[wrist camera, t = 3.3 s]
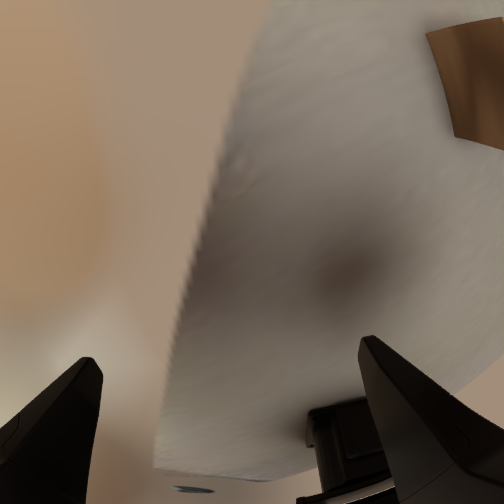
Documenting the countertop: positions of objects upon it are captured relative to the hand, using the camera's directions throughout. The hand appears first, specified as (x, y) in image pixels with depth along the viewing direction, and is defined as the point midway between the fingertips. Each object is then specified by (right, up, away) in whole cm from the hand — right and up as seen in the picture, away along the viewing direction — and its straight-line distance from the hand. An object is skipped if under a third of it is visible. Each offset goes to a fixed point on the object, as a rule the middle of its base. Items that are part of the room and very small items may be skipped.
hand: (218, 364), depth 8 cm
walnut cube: (+12, +12, 0) cm, 17 cm away
